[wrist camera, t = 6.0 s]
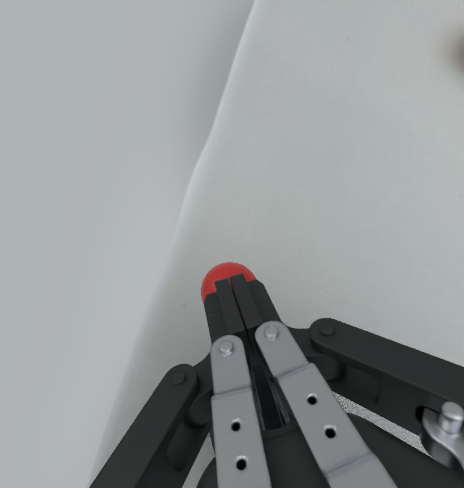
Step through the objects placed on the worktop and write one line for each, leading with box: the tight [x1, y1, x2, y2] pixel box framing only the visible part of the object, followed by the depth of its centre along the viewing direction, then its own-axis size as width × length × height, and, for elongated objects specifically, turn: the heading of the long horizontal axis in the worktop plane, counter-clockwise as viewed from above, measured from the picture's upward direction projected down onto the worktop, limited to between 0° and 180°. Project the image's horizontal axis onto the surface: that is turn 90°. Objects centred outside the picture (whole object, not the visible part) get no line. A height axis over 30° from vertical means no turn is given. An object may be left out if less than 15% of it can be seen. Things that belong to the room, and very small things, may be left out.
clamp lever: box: [201, 262, 283, 430], centre depth 16 cm, size 14×3×3 cm, turn 17°
